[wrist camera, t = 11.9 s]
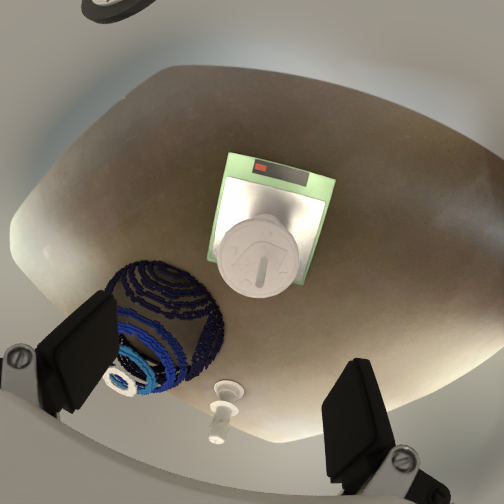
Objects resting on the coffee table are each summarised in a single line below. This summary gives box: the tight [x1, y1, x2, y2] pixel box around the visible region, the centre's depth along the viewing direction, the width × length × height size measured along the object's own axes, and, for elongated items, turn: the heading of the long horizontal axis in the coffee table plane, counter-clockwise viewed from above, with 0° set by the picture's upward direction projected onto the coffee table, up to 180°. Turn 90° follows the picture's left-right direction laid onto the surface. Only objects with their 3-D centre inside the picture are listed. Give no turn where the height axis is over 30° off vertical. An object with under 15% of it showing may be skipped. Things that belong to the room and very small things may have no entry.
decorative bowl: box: [103, 260, 224, 397], centre depth 33 cm, size 20×20×14 cm
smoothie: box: [217, 214, 299, 298], centre depth 23 cm, size 6×6×14 cm
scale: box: [206, 152, 336, 286], centre depth 31 cm, size 13×12×4 cm
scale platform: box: [210, 176, 326, 281], centre depth 30 cm, size 10×11×1 cm
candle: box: [209, 380, 244, 444], centre depth 38 cm, size 5×5×12 cm
